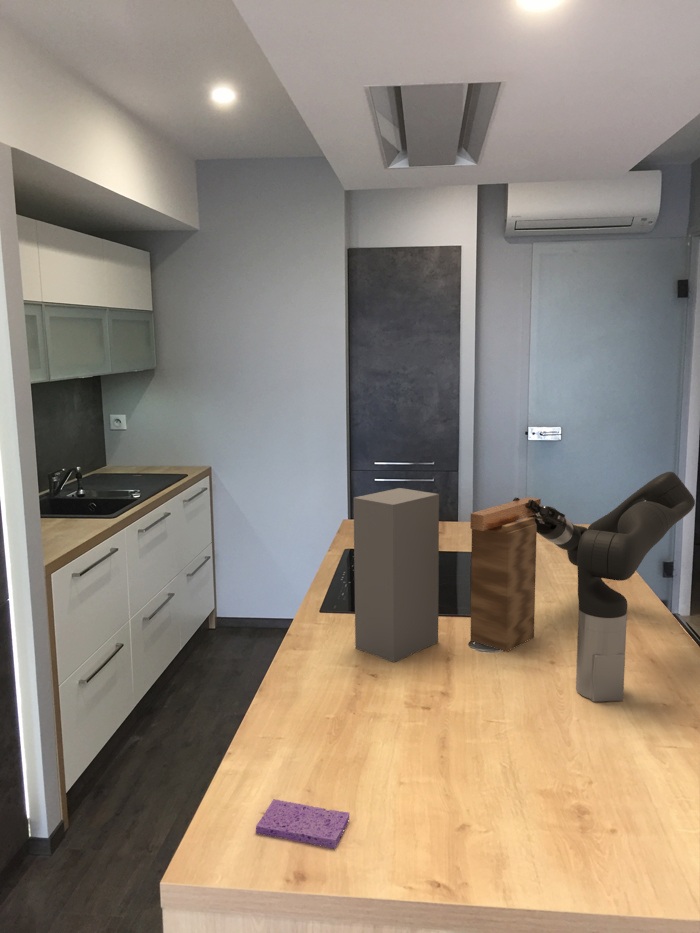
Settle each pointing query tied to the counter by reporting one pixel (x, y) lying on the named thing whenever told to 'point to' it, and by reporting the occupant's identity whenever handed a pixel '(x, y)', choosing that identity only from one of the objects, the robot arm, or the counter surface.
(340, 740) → the counter surface
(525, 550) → the wood grain block
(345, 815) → the sponges
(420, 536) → the stand
